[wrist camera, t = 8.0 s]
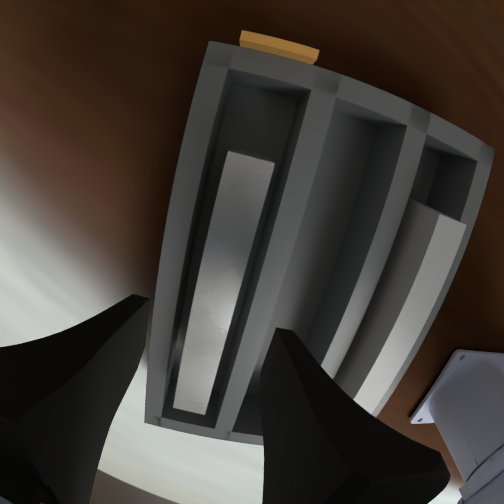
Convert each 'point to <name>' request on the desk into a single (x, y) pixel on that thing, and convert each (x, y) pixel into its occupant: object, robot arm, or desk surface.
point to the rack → (313, 229)
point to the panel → (221, 273)
